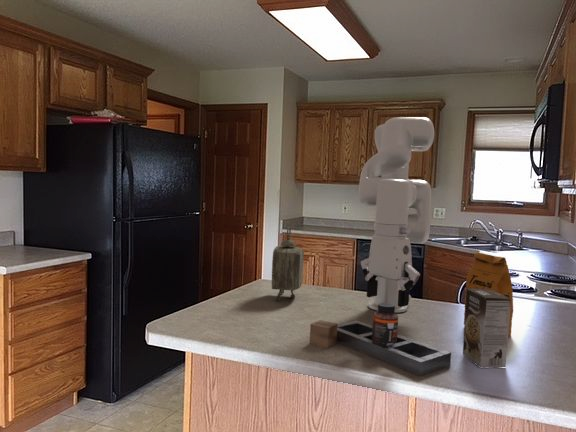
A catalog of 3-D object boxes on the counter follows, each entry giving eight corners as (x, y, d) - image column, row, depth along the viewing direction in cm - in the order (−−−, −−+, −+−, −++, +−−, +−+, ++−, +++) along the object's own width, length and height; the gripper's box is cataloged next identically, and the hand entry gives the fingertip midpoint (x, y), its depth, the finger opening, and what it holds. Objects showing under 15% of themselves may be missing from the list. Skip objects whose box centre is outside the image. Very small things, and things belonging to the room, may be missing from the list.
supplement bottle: (396, 356, 111) (399, 308, 110) (370, 353, 112) (373, 306, 111) (396, 347, 117) (398, 302, 116) (371, 345, 118) (374, 300, 117)
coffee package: (487, 339, 126) (493, 258, 125) (458, 326, 138) (463, 251, 137) (518, 337, 129) (523, 258, 128) (486, 324, 141) (491, 251, 139)
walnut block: (319, 338, 121) (320, 319, 121) (336, 343, 119) (337, 323, 118) (309, 344, 117) (310, 324, 117) (327, 348, 115) (328, 328, 114)
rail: (326, 337, 122) (327, 326, 122) (356, 331, 129) (357, 320, 129) (420, 376, 99) (420, 362, 99) (450, 365, 106) (451, 352, 106)
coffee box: (461, 354, 114) (465, 288, 113) (486, 354, 115) (491, 288, 114) (479, 368, 105) (484, 297, 104) (507, 368, 106) (512, 297, 105)
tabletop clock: (277, 292, 172) (280, 224, 170) (302, 294, 170) (305, 225, 169) (270, 302, 157) (273, 227, 156) (297, 304, 156) (300, 229, 155)
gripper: (431, 234, 108) (426, 307, 110) (374, 226, 122) (370, 291, 123) (410, 236, 103) (405, 312, 105) (353, 227, 117) (350, 295, 119)
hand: (386, 301), depth 114 cm, fingers open, 9 cm apart
